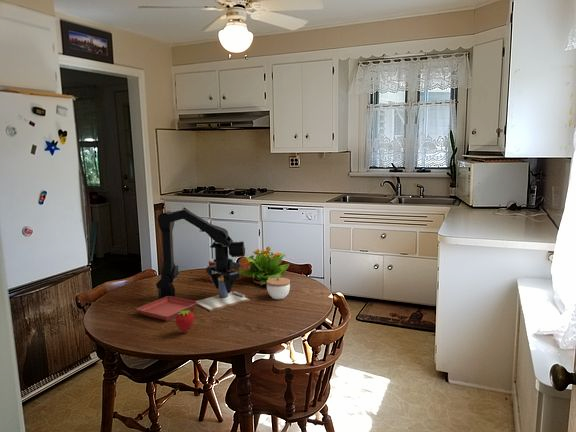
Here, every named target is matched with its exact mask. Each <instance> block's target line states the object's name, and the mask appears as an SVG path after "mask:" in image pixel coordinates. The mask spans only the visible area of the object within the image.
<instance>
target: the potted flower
mask: <svg viewBox="0 0 576 432" xmlns="http://www.w3.org/2000/svg"><path fill="white" fill-rule="evenodd" d="M252 253H253V254H252V255H249V256H248V255H245V258H246V260H247V262H248V263H249V264H250V265H249V268H246V269H241V270H239V271H238V270H237V272H238V273H239V275H244V276H246V277H248V278H252V280H253V282H254V283H255V284H257V285H260V286H263V285H267V284H266V281H267V280H268V279H270V278H277V277H282V276H283V277H284V275H285V273H286V271H287V269H289V266H290V263H285V264H282V262H283V258H284V257H285V256H286V255H287V254H284V253H281V252H275V253H274V252H273V251H271V246H266V248H265V249H262V250H260V249H258V248H257V249H256V250H253V252H252Z"/></svg>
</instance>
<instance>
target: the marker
mask: <svg viewBox="0 0 576 432" xmlns="http://www.w3.org/2000/svg"><path fill="white" fill-rule="evenodd" d="M223 280H224V278H223V276H220V277H218V281H219V288H218V295H219V298H227V297H228V293H227V290H226V287H225V284H224V281H223Z"/></svg>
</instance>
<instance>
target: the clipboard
mask: <svg viewBox="0 0 576 432" xmlns="http://www.w3.org/2000/svg"><path fill="white" fill-rule="evenodd" d="M250 300H251V299H250V298H248V297H246V295H245V294H243V293H241V292H238V291H236V290H234V291H231V292H230V293H228V297H227V298H219V294H216V295H212V296H209V297H205V298H202V299H198V300H194V301H195V302H198V303H197V305H196V306H198V307H200V308H202V309H204V310H206V311H208V312H211V313H212V312H214V311H215V312H216V311H218V310H222V309H224V308H229V307H232V306H235V305H239V304H243V303H246V302H249V301H250Z"/></svg>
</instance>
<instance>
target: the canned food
mask: <svg viewBox="0 0 576 432" xmlns="http://www.w3.org/2000/svg"><path fill="white" fill-rule="evenodd" d="M214 259H215V257H213V258H210V259H208V266H212V265H216V262H214ZM220 276H223V274H221V275H220ZM209 281H210V283H213V281H212V279H211V278H210V277H209Z"/></svg>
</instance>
